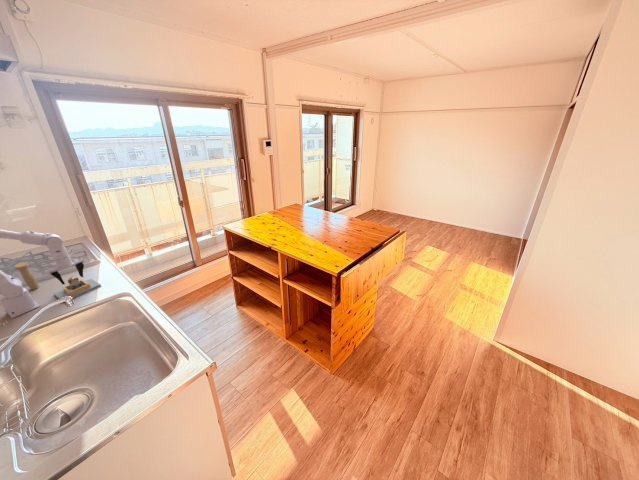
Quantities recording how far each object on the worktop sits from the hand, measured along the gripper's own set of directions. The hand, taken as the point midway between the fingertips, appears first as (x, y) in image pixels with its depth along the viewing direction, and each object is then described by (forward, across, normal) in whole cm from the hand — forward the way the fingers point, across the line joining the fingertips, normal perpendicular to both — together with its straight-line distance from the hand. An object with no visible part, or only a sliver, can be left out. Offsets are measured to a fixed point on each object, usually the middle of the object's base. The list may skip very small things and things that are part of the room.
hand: (72, 280), depth 132 cm
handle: (+7, +11, -24) cm, 27 cm away
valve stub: (+6, 0, 0) cm, 6 cm away
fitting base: (+7, 0, 0) cm, 7 cm away
